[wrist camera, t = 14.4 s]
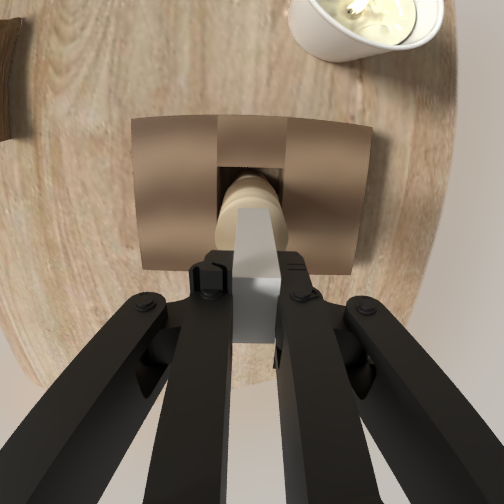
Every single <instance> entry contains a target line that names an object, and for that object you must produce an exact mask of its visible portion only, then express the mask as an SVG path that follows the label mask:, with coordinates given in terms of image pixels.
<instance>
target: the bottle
mask: <svg viewBox="0 0 504 504" xmlns="http://www.w3.org/2000/svg"><path fill="white" fill-rule="evenodd" d="M238 208H269V212H270V218H271V223H272V229H273V234H274V240H275V246H276V251H285V250H286V248H287V244H288V236H289V235H288V229H287V225H286V222H285V219H284V216H283V212H282V209H281V206H280V203H279V200H278V197H277V194H276V192H275V190H274V188H273V187H272V186H271V185H270V184H269V183H268V180H267V179H266V177H265V176H264V175H263V174H261V173H260V172H258V171H254V170H247V171H243V172H241V173H240V174H238V175H237V176H236V177H235V179H234V180H233V183H232V185H231V186H230V187H229V188H228V190H227V191H226V193H225V196H224V200H223V203H222V207H221V211H220V214H219V218H218V222H217V226H216V230H215V243H216V247H217V250H233V251H234V248H235V238H236V227H237V217H238Z"/></svg>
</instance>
